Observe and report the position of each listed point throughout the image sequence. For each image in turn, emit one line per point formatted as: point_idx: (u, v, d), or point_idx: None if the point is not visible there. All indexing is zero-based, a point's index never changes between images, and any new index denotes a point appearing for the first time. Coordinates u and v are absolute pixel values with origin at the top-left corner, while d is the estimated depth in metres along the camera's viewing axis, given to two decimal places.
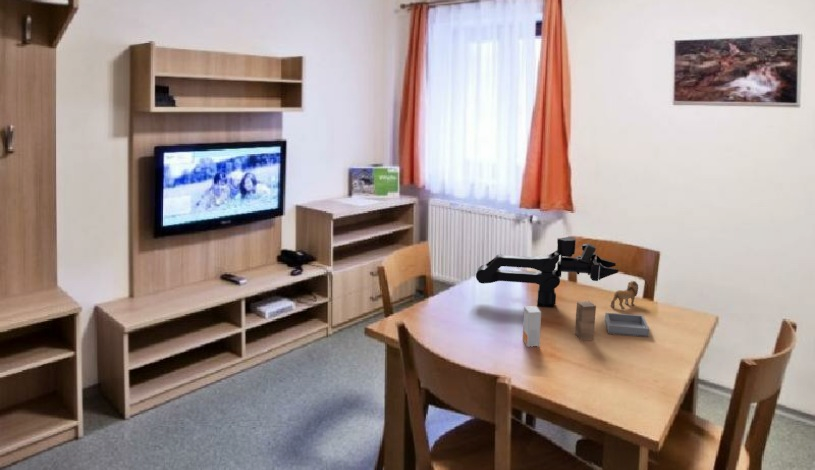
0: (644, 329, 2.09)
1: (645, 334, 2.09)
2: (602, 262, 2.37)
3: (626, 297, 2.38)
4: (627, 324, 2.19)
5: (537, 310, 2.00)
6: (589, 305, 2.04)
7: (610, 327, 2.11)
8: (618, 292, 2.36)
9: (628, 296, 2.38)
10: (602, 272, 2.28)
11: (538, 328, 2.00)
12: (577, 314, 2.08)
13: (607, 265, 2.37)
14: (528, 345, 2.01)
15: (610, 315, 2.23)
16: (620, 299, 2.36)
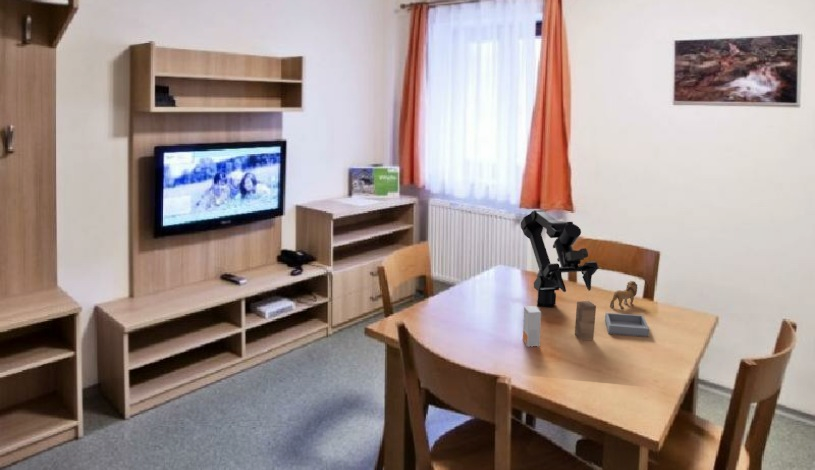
0: (644, 329, 2.09)
1: (645, 334, 2.09)
2: (586, 277, 2.17)
3: (625, 297, 2.38)
4: (627, 324, 2.19)
5: (537, 310, 2.00)
6: (589, 305, 2.04)
7: (610, 327, 2.11)
8: (617, 292, 2.36)
9: (627, 296, 2.38)
10: (556, 278, 2.16)
11: (538, 328, 2.00)
12: (577, 314, 2.08)
13: (586, 283, 2.16)
14: (528, 345, 2.01)
15: (610, 315, 2.23)
16: (619, 299, 2.36)
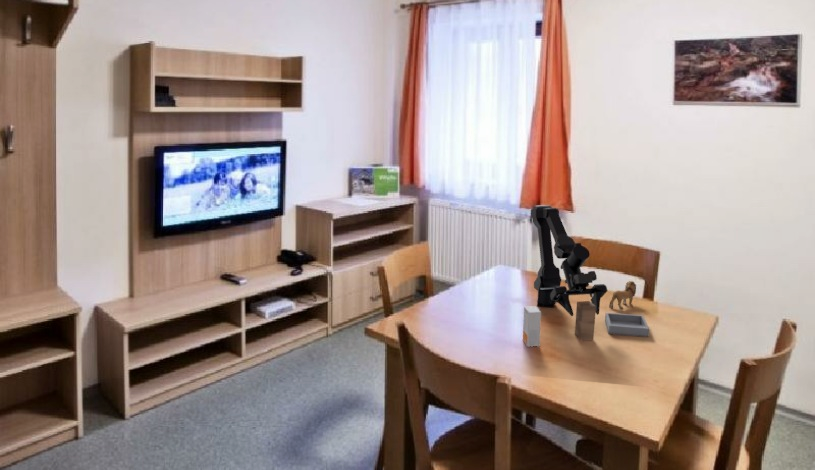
0: (644, 329, 2.09)
1: (645, 334, 2.09)
2: (595, 300, 2.10)
3: (624, 297, 2.37)
4: (627, 324, 2.19)
5: (537, 310, 2.00)
6: (589, 305, 2.04)
7: (610, 327, 2.11)
8: (617, 292, 2.36)
9: (626, 296, 2.38)
10: (564, 301, 2.10)
11: (538, 328, 2.00)
12: (577, 314, 2.08)
13: None
14: (528, 345, 2.01)
15: (610, 315, 2.23)
16: (619, 299, 2.36)
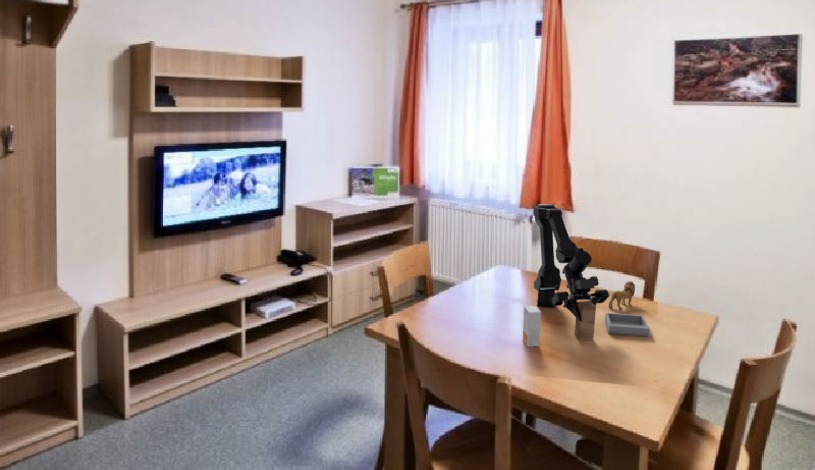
0: (644, 329, 2.09)
1: (645, 334, 2.09)
2: None
3: (624, 297, 2.37)
4: (627, 324, 2.19)
5: (537, 310, 2.00)
6: (589, 305, 2.04)
7: (610, 327, 2.11)
8: (616, 293, 2.36)
9: (625, 296, 2.37)
10: (572, 306, 2.09)
11: (538, 328, 2.00)
12: None
13: None
14: (528, 345, 2.01)
15: (610, 315, 2.23)
16: (618, 300, 2.36)
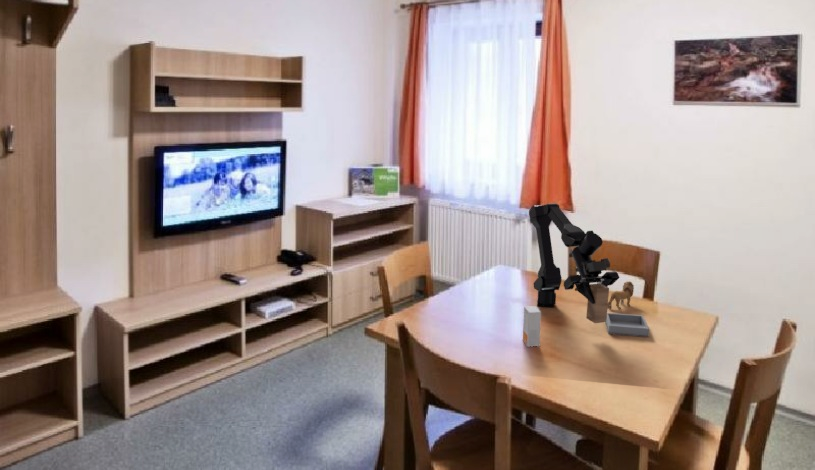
0: (644, 329, 2.09)
1: (645, 334, 2.09)
2: None
3: (622, 298, 2.37)
4: (627, 324, 2.19)
5: (537, 310, 2.00)
6: (602, 287, 2.04)
7: (610, 327, 2.11)
8: (615, 293, 2.35)
9: (624, 297, 2.37)
10: (584, 289, 2.08)
11: (538, 328, 2.00)
12: None
13: None
14: (528, 345, 2.01)
15: (610, 315, 2.23)
16: (617, 300, 2.35)
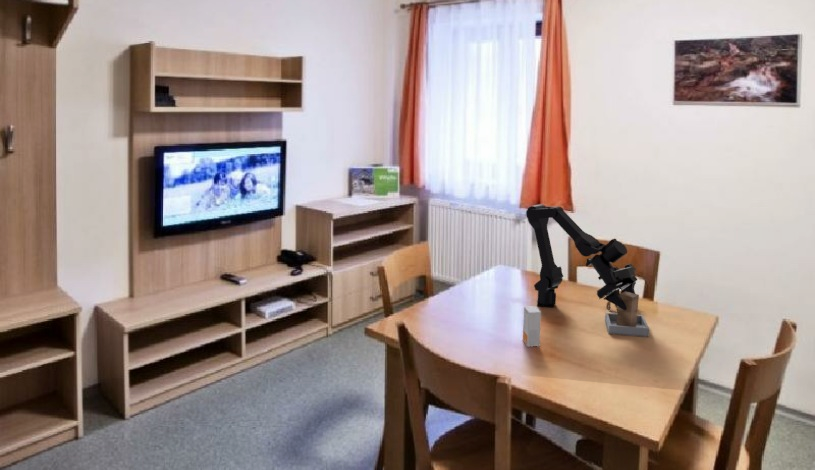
0: (644, 329, 2.09)
1: (645, 334, 2.09)
2: (630, 292, 2.18)
3: None
4: None
5: (537, 310, 2.00)
6: (634, 295, 2.13)
7: (610, 327, 2.11)
8: None
9: None
10: (613, 297, 2.13)
11: (538, 328, 2.00)
12: None
13: None
14: (528, 345, 2.01)
15: (610, 315, 2.23)
16: None
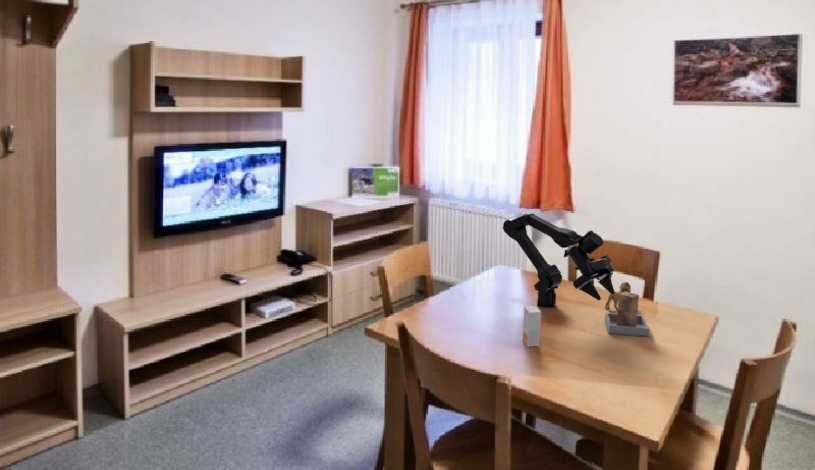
0: (644, 329, 2.09)
1: (645, 334, 2.09)
2: (607, 282, 2.25)
3: None
4: None
5: (537, 310, 2.00)
6: (634, 295, 2.13)
7: (610, 327, 2.11)
8: (613, 294, 2.34)
9: None
10: (588, 287, 2.19)
11: (538, 328, 2.00)
12: (621, 306, 2.14)
13: (607, 288, 2.25)
14: (528, 345, 2.01)
15: (610, 315, 2.23)
16: (615, 301, 2.34)
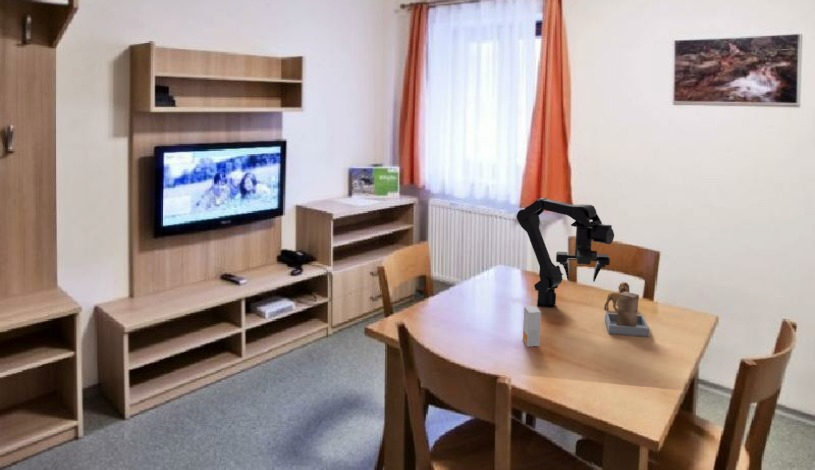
0: (644, 329, 2.09)
1: (645, 334, 2.09)
2: (595, 269, 2.25)
3: None
4: None
5: (537, 310, 2.00)
6: (634, 295, 2.13)
7: (610, 327, 2.11)
8: (612, 294, 2.34)
9: None
10: None
11: (538, 328, 2.00)
12: (621, 306, 2.14)
13: (594, 273, 2.27)
14: (528, 345, 2.01)
15: (610, 315, 2.23)
16: (614, 301, 2.34)
